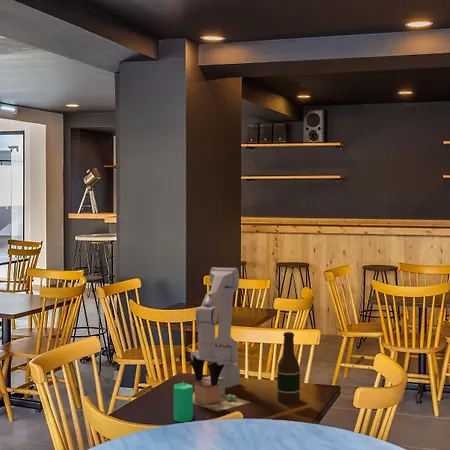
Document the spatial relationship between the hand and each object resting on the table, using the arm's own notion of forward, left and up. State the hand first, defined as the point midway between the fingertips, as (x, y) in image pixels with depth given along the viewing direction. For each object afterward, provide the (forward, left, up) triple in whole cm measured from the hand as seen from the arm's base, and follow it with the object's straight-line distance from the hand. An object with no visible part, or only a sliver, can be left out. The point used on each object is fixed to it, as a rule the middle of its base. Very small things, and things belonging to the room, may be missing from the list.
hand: (206, 382), depth 231 cm
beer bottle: (-21, +18, -8) cm, 29 cm away
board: (-3, 0, -7) cm, 8 cm away
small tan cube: (0, 0, -6) cm, 6 cm away
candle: (+16, +7, -8) cm, 19 cm away
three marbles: (-7, +5, -6) cm, 10 cm away
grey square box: (-7, -4, -6) cm, 10 cm away
